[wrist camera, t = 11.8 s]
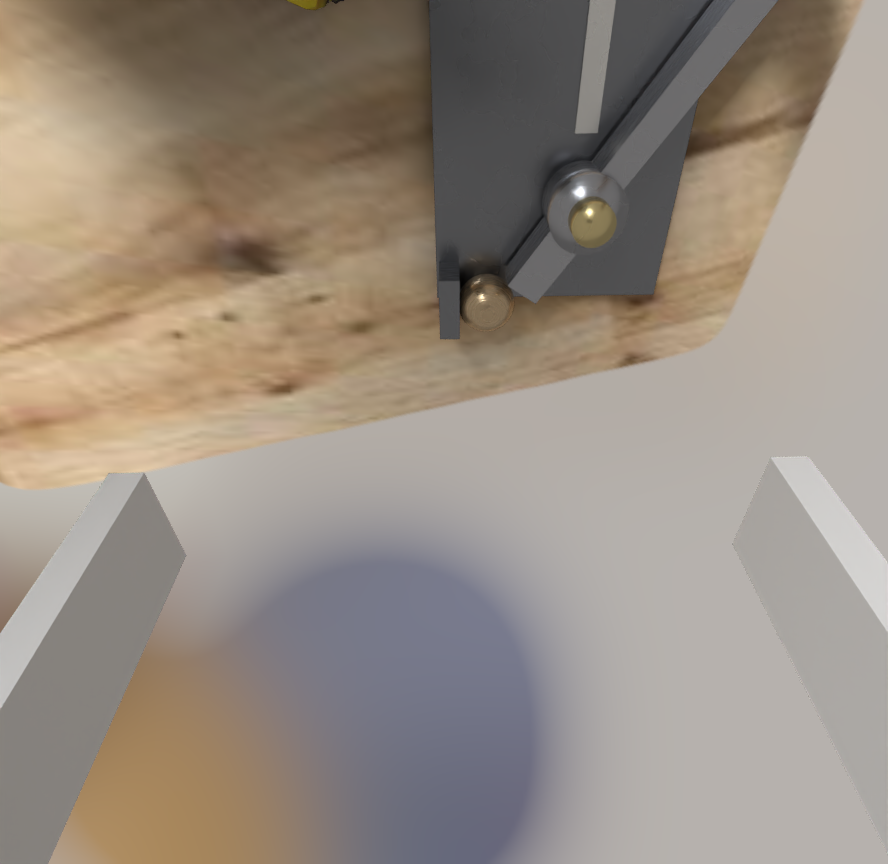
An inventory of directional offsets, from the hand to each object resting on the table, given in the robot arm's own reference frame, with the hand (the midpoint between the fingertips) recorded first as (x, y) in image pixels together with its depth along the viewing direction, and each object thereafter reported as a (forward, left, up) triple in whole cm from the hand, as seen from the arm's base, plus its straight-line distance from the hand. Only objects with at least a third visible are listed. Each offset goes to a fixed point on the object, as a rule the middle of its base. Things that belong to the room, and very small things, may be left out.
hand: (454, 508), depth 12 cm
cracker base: (0, +8, -32) cm, 32 cm away
